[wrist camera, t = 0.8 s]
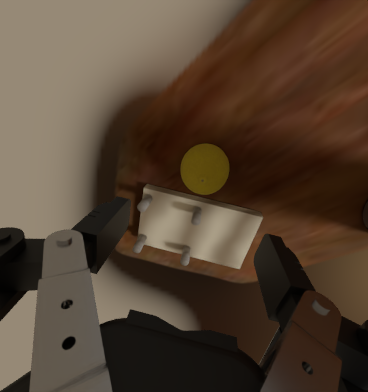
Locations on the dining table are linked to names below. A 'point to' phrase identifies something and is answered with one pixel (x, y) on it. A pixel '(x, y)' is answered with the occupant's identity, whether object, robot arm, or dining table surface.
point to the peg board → (195, 226)
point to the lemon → (204, 169)
